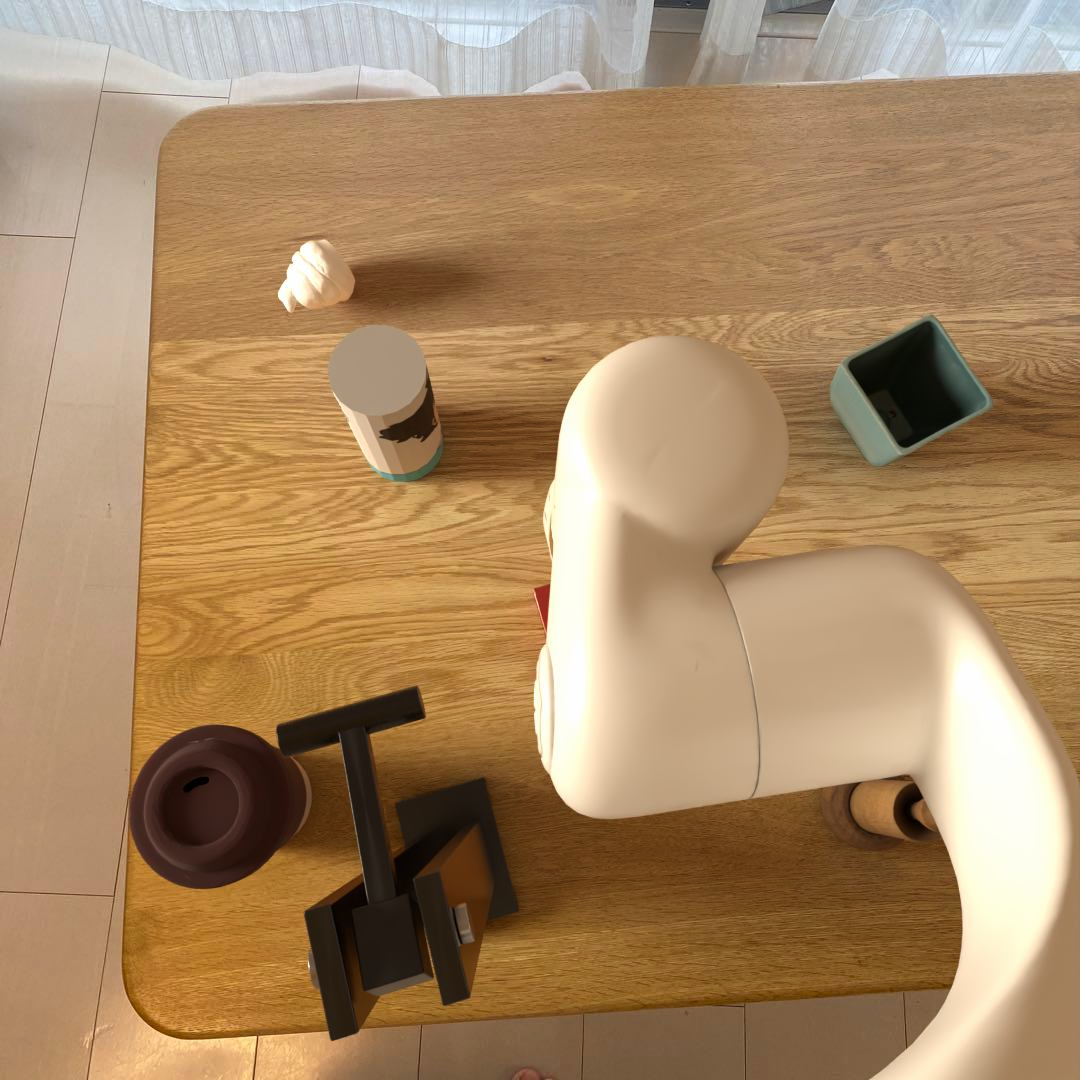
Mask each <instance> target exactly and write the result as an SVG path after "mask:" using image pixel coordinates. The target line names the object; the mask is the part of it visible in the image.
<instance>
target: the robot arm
mask: <svg viewBox="0 0 1080 1080" xmlns="http://www.w3.org/2000/svg"><path fill="white" fill-rule="evenodd" d="M556 454H557V455H556V461H555V462H556V463H555V473H554V479H553V480H552V482H551V484H550V486H549V489H548V492H547V495H546V499H545V504H544V509H543V515H542V523H543V524H542V525H543V530H544V535H545V538H546V542H547V546H548V550H549V556H550V560H551V574H550V584H551V586H550V599H549V612H548V625H547V639H546V638H545V639H546V640H545V644H544V645H543V646H542V648H541V650H540V652H539V655H538V657H537V659H538V660H537V662H536V666H535V668H536V669H535V672H536V677H535V681H534V685H533V690H534V691H533V709H534V710H535V711H534V712H533V720H534V730H535V735H536V738H537V749H538V754H539V755H540V756H541V758H540V760H541V763H542V766H543V768H544V770H545V771H546V772H547V774H549V776H550V778H551V781H552V784H553V787H554V789H555V791H556V792H557V794H558V796H559V797H560V799H562V801H563V802H564V803H565V805H566V806H567V807H569V808H571V809H572V810H573V811H575V812H576V813H578V814H580V815H583V816H585V817H589V818H592V819H603V820H618V819H619V820H620V819H630V818H631V819H632V818H638V817H644V816H651V815H658V814H664V813H665V814H666V813H671V812H677V811H682V810H689V809H695V808H701V807H708V806H715V805H720V804H726V803H732V802H738V801H744V800H753V799H758V798H767V797H773V796H779V795H786V794H793V793H798V792H803V791H804V792H805V791H809V790H816V789H817V790H818V789H823V787H829V786H836V785H842V784H848V783H855V782H863V781H870V780H877V779H883V778H888V777H894V776H900V775H901V776H903V775H906V776H907V775H908V776H909V777H910V778H911V779H912V781H915V783H916V784H917V786H918V788H919V790H920V792H921V794H922V796H923V798H924V800H925V802H926V804H927V806H928V808H929V810H930V812H931V814H932V816H933V818H934V820H935V822H936V824H937V827H938V829H939V831H940V834H941V836H942V837H941V838H942V840H943V842H944V846H945V847H946V849H947V852H948V855H949V858H950V862H951V864H952V867H953V870H954V873H955V877H956V881H957V886H958V891H959V897H960V906H961V917H962V918H961V919H962V920H961V921H962V933H961V934H962V935H961V949H960V954H959V960H958V965H957V966H958V967H957V969H956V973H955V975H954V980H953V982H952V986H951V988H950V990H949V992H948V994H947V997H946V999H945V1001H944V1003H943V1005H942V1006H941V1008H940V1009H939V1011H938V1012H937V1014H936V1016H935V1017H934V1018H933V1019H932V1020H931V1022H929V1024H928V1025H927V1026H926V1027H925V1028H924V1030H923V1031H922V1032H921V1034H919V1036H917V1038H916V1039H915V1040H914V1042H913V1043H912V1044H910V1045H909V1046H908V1047H907V1048H906V1049H905V1050H904V1051H902V1052H901V1053H900V1054H899V1055H898V1056H897V1057H896V1058H895V1059H893V1060H892V1061H891V1062H889V1064H888V1065H886V1066H885V1067H884V1068H883V1069H882V1070H880V1071H879V1072H878V1073H876V1074H875V1075H873V1076H872V1077H871V1078H869V1079H868V1080H1080V779H1079V777H1078V774H1077V770H1076V768H1075V766H1074V763H1073V762H1072V759H1071V757H1070V755H1069V753H1068V751H1067V748H1066V746H1065V744H1064V742H1063V740H1062V739H1061V737H1060V735H1059V733H1058V731H1057V730H1056V727H1055V726H1054V723H1052V721H1051V718H1050V717H1049V716H1048V714H1047V712H1046V710H1045V709H1044V708H1043V706H1042V704H1041V702H1040V701H1039V699H1038V697H1037V696H1036V693H1035V692H1034V690H1033V689H1032V687H1031V685H1030V683H1029V681H1027V678H1026V677H1025V675H1024V673H1023V672H1022V670H1021V668H1020V667H1019V665H1018V664H1017V662H1016V660H1015V658H1014V656H1013V655H1012V653H1011V652H1010V650H1009V648H1008V647H1007V645H1006V643H1005V642H1004V640H1003V638H1002V637H1001V635H1000V634H999V632H998V631H997V629H996V627H995V626H994V625H993V623H992V622H991V619H990V618H989V617H988V615H987V614H986V613H985V611H984V610H983V608H982V606H980V605H979V603H978V602H977V600H975V598H974V597H973V596H972V594H971V593H970V592H969V591H968V590H967V589H966V587H965V586H964V585H963V584H962V583H961V582H960V581H959V580H958V578H956V577H955V576H954V575H953V574H952V573H951V572H950V571H949V570H947V569H946V568H945V567H944V566H942V565H941V564H940V563H938V561H937V562H936V561H935V560H934V559H932V558H930V557H929V556H926V555H924V554H922V553H920V552H918V551H915V550H913V549H911V548H906V547H903V546H897V545H890V544H866V545H856V546H855V545H854V546H850V547H849V546H846V547H837V548H829V549H822V550H813V551H805V552H799V553H792V554H785V555H780V556H779V555H778V556H773V557H766V558H760V559H753V560H746V561H740V562H733V563H726V561H727V560H729V559H730V557H732V555H733V554H734V553H735V552H736V551H737V549H739V547H740V546H742V544H743V543H744V542H745V541H746V539H748V537H749V536H750V535H751V534H753V532H754V531H755V530H756V528H758V526H759V525H760V524H761V522H762V521H763V520H764V519H765V517H766V516H767V514H768V513H769V512H770V511H771V510H772V508H773V506H774V504H775V503H776V501H777V499H778V497H779V494H780V492H781V490H782V488H783V486H784V483H785V480H786V476H787V472H788V466H789V461H790V438H789V428H788V425H787V421H786V418H785V415H784V411H783V408H782V406H781V403H780V401H779V400H778V397H777V395H776V394H775V391H774V389H773V388H772V387H771V385H770V384H769V382H768V381H767V380H766V378H765V377H764V376H763V374H761V372H760V371H758V370H757V369H756V368H755V367H754V366H753V365H752V364H751V363H750V362H749V361H747V360H746V359H745V358H744V357H742V356H741V355H740V354H738V353H737V352H735V351H733V350H732V349H729V348H727V347H725V346H724V345H721V344H719V343H716V342H714V341H711V340H707V339H705V338H701V337H695V336H690V335H679V334H676V335H675V334H667V335H666V334H665V335H657V336H649V337H646V338H642V339H639V340H636V341H633V342H632V341H631V342H629V343H627V344H626V345H623V346H621V347H620V348H617V349H616V350H614V351H612V352H610V353H609V354H607V355H606V356H605V357H603V358H602V359H601V360H600V361H598V362H597V363H596V364H594V365H593V366H592V367H591V368H590V370H588V371H587V373H586V374H585V375H584V377H582V379H581V380H580V382H579V383H578V384H577V386H576V388H575V389H574V391H573V393H572V395H571V396H570V398H569V400H568V403H567V405H566V407H565V411H564V414H563V417H562V421H561V425H560V431H559V436H558V445H557V453H556ZM725 563H726V564H725Z"/></svg>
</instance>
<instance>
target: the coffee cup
mask: <svg viewBox="0 0 1080 1080" xmlns="http://www.w3.org/2000/svg"><path fill="white" fill-rule="evenodd" d="M312 791H313V790H312V785H311V781H310V778H309V776H308V773H307V771H305V769H304V768H303V767H302V765H301V764H300V762H299V761H297V759H295V758H294V757H293V756H292V757H288V758H285V757H284V756H283V755H282V753H281V751H280V748H279V747H276V746H275V745H273V744H271V743H270V742H268V741H267V740H266V739H264V738H263V737H262V736H261V735H259V734H256V732H253V731H251V730H249V729H245V728H242V727H238V726H234V725H228V724H227V725H226V724H205V725H204V724H203V725H199V726H196V727H192V728H189V729H186V730H184V731H183V730H182V731H181V732H179V733H177V734H175V735H173V736H172V737H170V738H169V739H168V740H166V741H165V742H163V743H162V744H161V745H160V746H158V747H157V749H156V750H155V751H154V752H152V754H151V755H150V756H149V757H148V758H147V760H146V761H145V762H144V764H143V766H142V767H141V769H140V771H139V773H138V774H137V777H136V779H135V781H134V784H133V787H132V791H131V795H130V799H129V807H128V821H129V829H130V834H131V837H132V841H133V843H134V845H135V848H136V850H137V852H138V854H139V856H140V857H141V858H142V860H143V861H144V862H145V863H146V865H147V866H148V867H149V868H150V869H151V870H152V871H153V872H154V873H155V874H156V875H158V876H160V877H161V878H163V879H164V880H166V881H168V882H169V883H172V884H174V885H177V886H179V887H183V888H186V889H187V888H188V889H193V890H211V889H218V888H222V887H226V886H230V885H233V884H234V883H237V882H239V881H241V880H244V879H246V878H248V877H249V876H251V875H253V874H255V872H257V871H259V870H260V869H261V868H262V867H263V866H265V865H266V864H267V863H268V862H269V861H270V859H272V857H273V856H274V854H276V852H278V851H280V850H281V849H282V848H283V847H284V846H286V845H287V844H288V843H289V841H291V839H292V838H293V837H294V836H295V835H297V834H298V832H299V831H300V830H301V829H302V827H303V826H304V825H305V823H306V821H307V819H308V817H309V814H310V811H311V808H312V802H313V801H312V800H313V792H312Z"/></svg>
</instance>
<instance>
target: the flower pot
mask: <svg viewBox="0 0 1080 1080" xmlns="http://www.w3.org/2000/svg"><path fill="white" fill-rule="evenodd" d="M828 394H829V401H830V404H831V407H832V409H833V410H834V413H835V414H836V416H837V417H838V419H839V421H840V422H841V424H842V425H843V426H844V428H845V429H846V431H847V433H849V436H850V437H851V439H852V440H853V442H854V443H855V445H856V447H857V448H858V450H859V451H860V453H861V454H862V456H863V458H864V459H865V460H866V461H867V463H869V464H870V465H871V466H873V467H875V468H876V467H877V468H883V467H886V466H889V465H891V464H893V463H895V462H896V461H898V460H900V459H902V458H904V457H905V456H907V455H910V454H912V453H914V452H915V451H917V450H919V449H920V448H922V447H924V446H926V445H927V444H930V443H932V442H934V441H936V440H937V439H939V438H941V437H943V436H945V435H947V434H948V433H951V432H952V431H954V430H956V429H958V428H960V427H962V426H964V425H966V424H967V423H969V422H971V421H973V420H975V419H976V418H979V417H981V416H982V415H984V414H986V413H988V412H989V411H991V410H993V409H994V407H995V406H996V405H995V401H994V399H993V397H992V395H991V394H990V393H989V391H988V390H987V388H986V387H985V385H984V384H983V382H982V381H981V380H980V379H979V377H978V376H977V374H976V373H975V372H974V370H973V369H972V367H971V366H970V364H969V363H968V362H967V360H966V359H965V357H964V356H963V354H962V353H961V351H960V350H959V348H958V347H957V345H956V344H955V342H954V341H953V339H952V338H951V336H950V335H949V333H948V331H946V329H945V327H944V326H943V324H942V323H941V322H940V320H939V319H938V318H937V317H936V316H935V315H934V314H932V313H931V314H929V313H928V314H927V315H924V316H923V317H921V318H919V319H916V320H915V321H914V322H912V323H910V324H908V325H906V326H904V327H902V328H901V329H898V330H897V331H895V332H893V333H891V334H889V335H887V336H885V337H883V338H882V339H880V340H877V341H876V342H873V343H872V344H870V345H868V346H866V347H864V348H862V349H860V350H858V351H856V352H854V353H852V354H849V355H847V356H846V357H844V358H842V360H841V361H840V362H839V365H838V367H837V370H836V372H835V374H834V376H833V379H832V380H831V384H830V387H829V393H828ZM890 413H894V417H893V416H891V415H890Z"/></svg>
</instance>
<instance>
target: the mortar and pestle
mask: <svg viewBox="0 0 1080 1080" xmlns="http://www.w3.org/2000/svg"><path fill="white" fill-rule="evenodd" d="M820 809H821V813H822V816H823V819H824V821H825V823H826V825H827V826H828V828H829V830H830V831H831V832H832V833H833V834H834V835H835V836H836V837H837V838H838V839H839V840H841V841H842V842H844V843H845V844H846V845H849V846H851V847H854V848H855V849H856V848H857V849H860V850H865V851H868V852H869V851H870V852H883V851H888V850H892V849H894V848H896V847H898V846H899V845H901V844H903V843H904V842H905V841H909V842H914V843H919V844H928V843H932V842H936V841H938V840H939V839H941V838H942V836H941V834H940V831H939V829H938V827H937V824H936V822H935V820H934V818H933V816H932V814H931V812H930V810H929V808H928V806H927V804H926V802H925V800H924V798H923V796H922V794H921V792H920V790H919V788H918V786H917V784H916V783H915V781H914V780H906V779H905V778H904V777H903V775H900V776H894V777H888V778H883V779H877V780H870V781H863V782H855V783H848V784H842V785H836V786H829V787H823V788H821V794H820Z"/></svg>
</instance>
